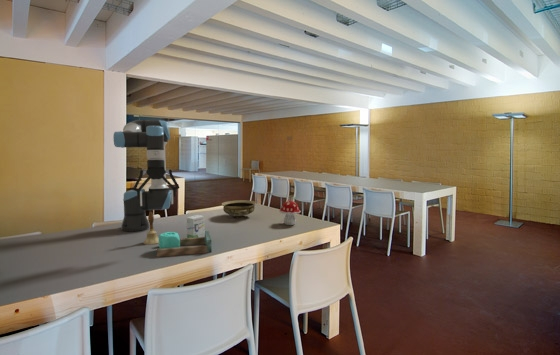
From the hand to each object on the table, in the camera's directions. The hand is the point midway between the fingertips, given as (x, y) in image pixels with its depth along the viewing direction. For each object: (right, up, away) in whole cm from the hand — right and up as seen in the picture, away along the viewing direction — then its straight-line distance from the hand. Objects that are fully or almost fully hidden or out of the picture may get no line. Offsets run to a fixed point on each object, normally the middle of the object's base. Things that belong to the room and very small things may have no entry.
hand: (157, 204), depth 150 cm
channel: (+12, -22, +4) cm, 25 cm away
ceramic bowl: (+29, -15, +74) cm, 81 cm away
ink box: (+12, -20, +23) cm, 33 cm away
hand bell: (-8, -21, +15) cm, 27 cm away
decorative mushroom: (+64, -17, +56) cm, 87 cm away
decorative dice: (+5, -22, +2) cm, 23 cm away
